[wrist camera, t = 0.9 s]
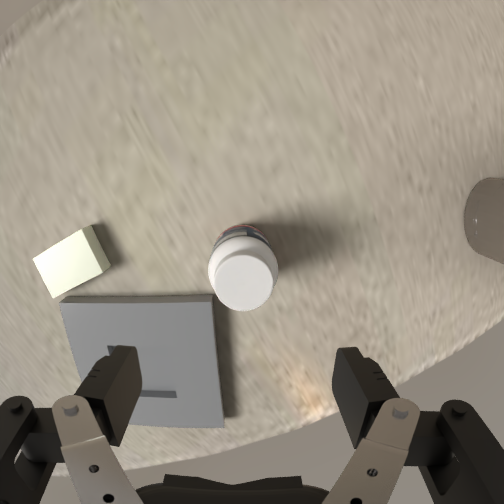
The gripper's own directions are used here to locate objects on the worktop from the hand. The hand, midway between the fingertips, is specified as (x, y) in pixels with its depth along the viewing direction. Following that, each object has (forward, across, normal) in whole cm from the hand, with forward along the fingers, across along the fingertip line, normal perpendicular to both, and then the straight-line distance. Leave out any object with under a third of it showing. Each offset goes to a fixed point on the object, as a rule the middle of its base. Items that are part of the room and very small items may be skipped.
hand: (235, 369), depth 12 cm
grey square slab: (+18, +10, +12) cm, 24 cm away
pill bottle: (+19, 0, 0) cm, 19 cm away
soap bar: (+18, +17, +1) cm, 25 cm away
